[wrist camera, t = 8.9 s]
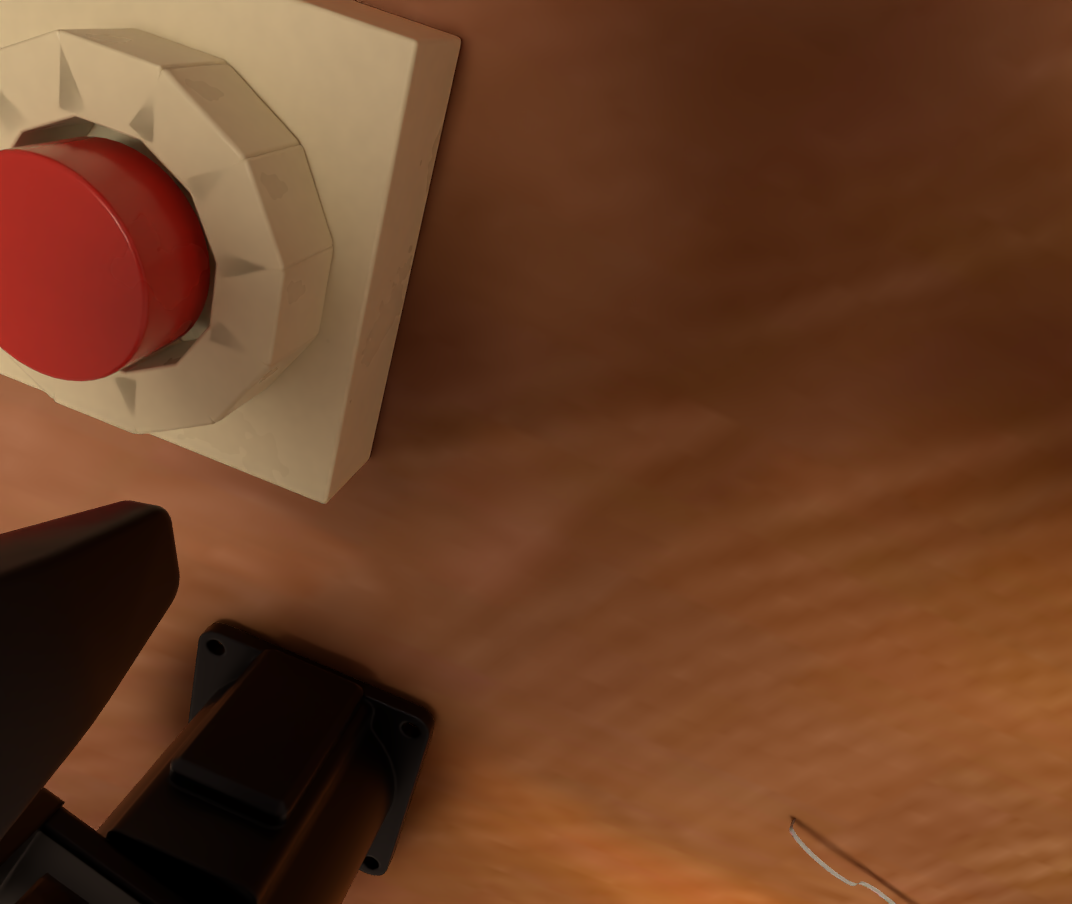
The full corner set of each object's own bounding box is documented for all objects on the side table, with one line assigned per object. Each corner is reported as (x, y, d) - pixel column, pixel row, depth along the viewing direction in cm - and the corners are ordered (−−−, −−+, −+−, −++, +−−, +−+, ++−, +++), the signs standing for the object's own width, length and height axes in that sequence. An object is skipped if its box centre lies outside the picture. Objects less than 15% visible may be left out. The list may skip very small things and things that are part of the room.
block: (370, 459, 20) (281, 552, 17) (58, 336, 21) (-90, 400, 17) (463, 37, 16) (369, 43, 12) (64, -100, 16) (-131, -131, 13)
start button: (201, 377, 16) (139, 414, 14) (25, 307, 16) (-55, 337, 15) (223, 178, 14) (154, 197, 13) (24, 104, 14) (-67, 115, 13)
